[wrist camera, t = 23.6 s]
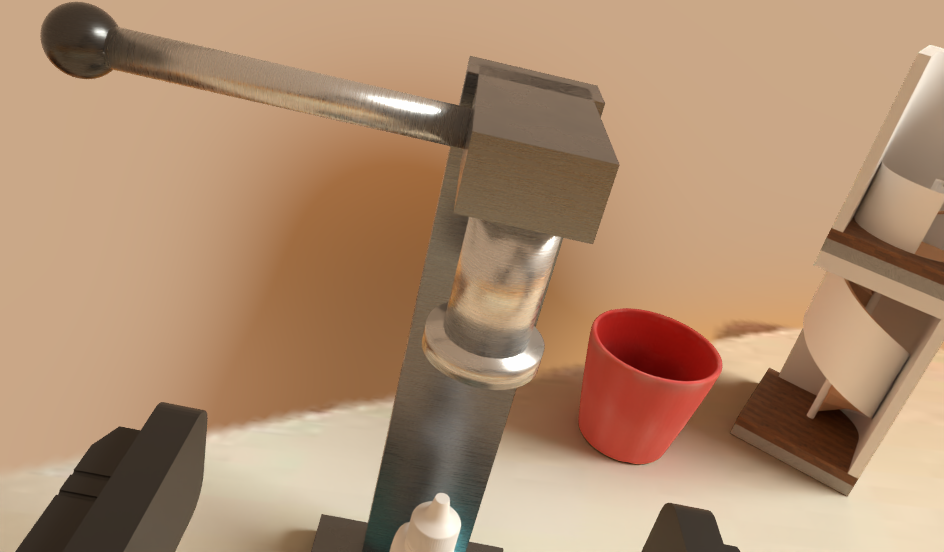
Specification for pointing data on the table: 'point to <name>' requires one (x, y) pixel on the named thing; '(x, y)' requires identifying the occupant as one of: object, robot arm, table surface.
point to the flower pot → (642, 383)
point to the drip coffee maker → (866, 301)
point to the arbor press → (450, 247)
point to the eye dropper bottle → (429, 528)
